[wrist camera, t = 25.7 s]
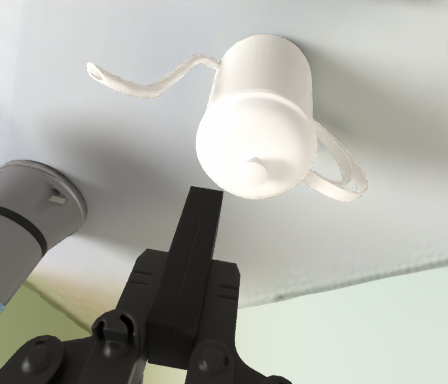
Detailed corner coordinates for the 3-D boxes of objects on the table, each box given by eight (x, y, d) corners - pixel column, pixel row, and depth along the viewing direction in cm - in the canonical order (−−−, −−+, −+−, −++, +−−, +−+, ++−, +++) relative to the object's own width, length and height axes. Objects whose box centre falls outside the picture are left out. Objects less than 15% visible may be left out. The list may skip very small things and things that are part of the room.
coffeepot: (180, -34, 30) (86, -20, 15) (378, 97, 35) (450, 203, 20) (144, 66, 36) (54, 144, 22) (315, 164, 41) (336, 282, 27)
